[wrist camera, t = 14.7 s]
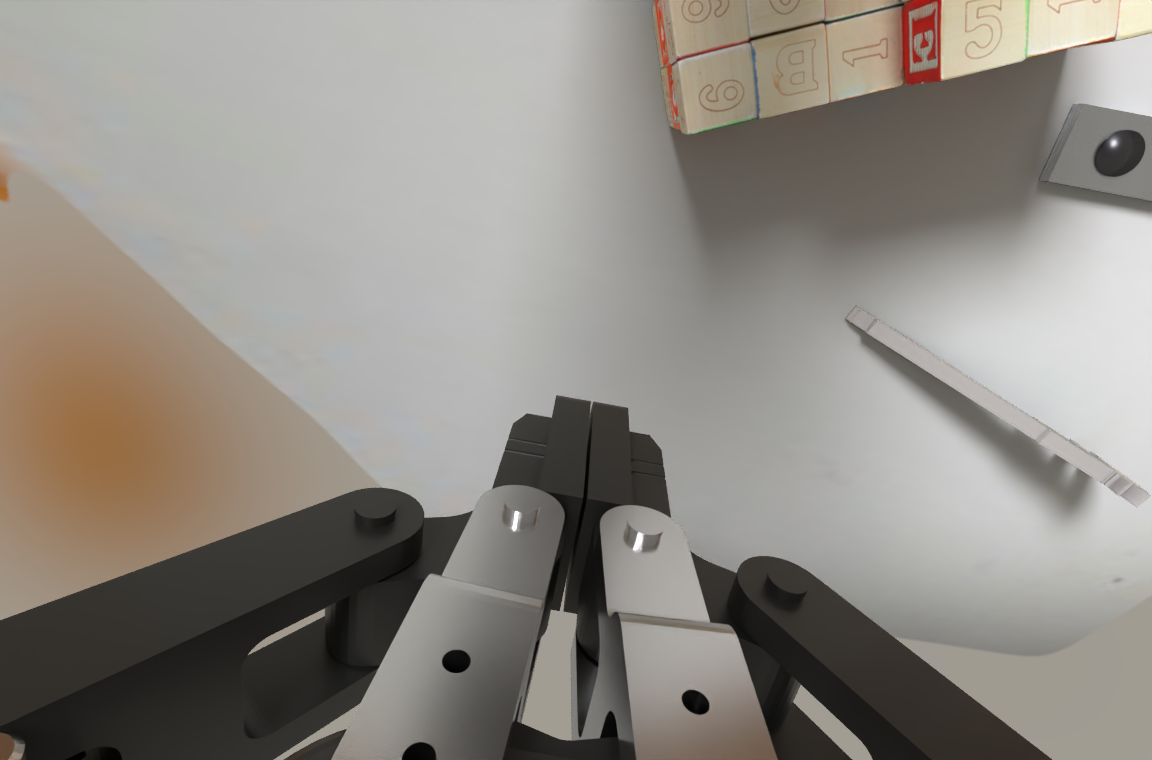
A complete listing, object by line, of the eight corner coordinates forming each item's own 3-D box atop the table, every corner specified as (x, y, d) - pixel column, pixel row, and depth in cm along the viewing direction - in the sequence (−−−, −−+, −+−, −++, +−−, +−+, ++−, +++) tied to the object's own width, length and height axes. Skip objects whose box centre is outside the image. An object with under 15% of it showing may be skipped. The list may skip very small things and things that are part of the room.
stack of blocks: (667, 131, 35) (692, 138, 24) (649, 7, 33) (668, -48, 22) (1070, 40, 33) (1313, 1, 21) (1082, -102, 30) (1362, -231, 19)
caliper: (1094, 451, 42) (1170, 505, 36) (1080, 463, 42) (1154, 518, 37) (854, 303, 39) (895, 336, 33) (842, 318, 39) (881, 353, 34)
